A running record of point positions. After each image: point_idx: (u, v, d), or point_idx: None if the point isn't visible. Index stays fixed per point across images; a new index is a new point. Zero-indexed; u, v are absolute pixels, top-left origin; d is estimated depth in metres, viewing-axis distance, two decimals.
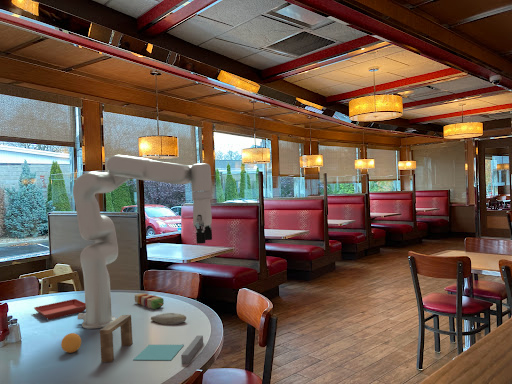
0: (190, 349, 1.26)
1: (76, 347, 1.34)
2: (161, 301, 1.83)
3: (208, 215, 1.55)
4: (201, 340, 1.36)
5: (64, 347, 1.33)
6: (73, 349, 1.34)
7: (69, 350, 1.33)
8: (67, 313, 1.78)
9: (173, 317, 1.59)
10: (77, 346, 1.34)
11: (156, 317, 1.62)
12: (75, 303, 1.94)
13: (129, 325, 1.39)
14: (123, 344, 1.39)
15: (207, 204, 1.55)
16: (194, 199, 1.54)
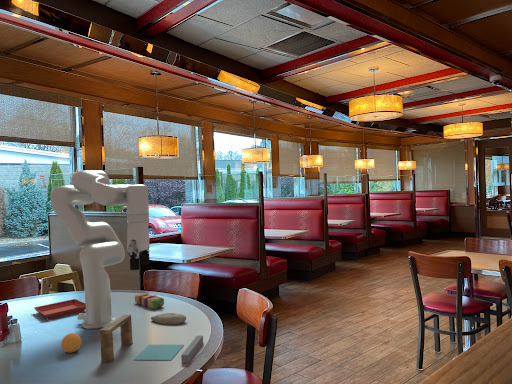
0: (190, 349, 1.26)
1: (76, 347, 1.34)
2: (161, 301, 1.83)
3: (144, 239, 1.47)
4: (201, 340, 1.36)
5: (64, 347, 1.33)
6: (73, 349, 1.34)
7: (69, 350, 1.33)
8: (67, 313, 1.78)
9: (173, 317, 1.59)
10: (77, 346, 1.34)
11: (156, 317, 1.62)
12: (75, 303, 1.94)
13: (129, 325, 1.39)
14: (123, 344, 1.39)
15: (143, 228, 1.46)
16: (129, 222, 1.46)
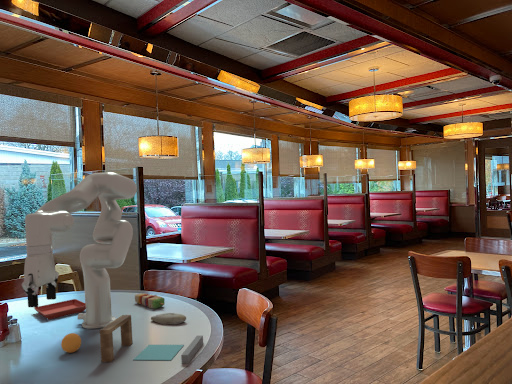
0: (190, 349, 1.26)
1: (76, 347, 1.34)
2: (162, 301, 1.83)
3: (44, 273, 1.35)
4: (201, 340, 1.36)
5: (64, 347, 1.33)
6: (73, 349, 1.34)
7: (69, 350, 1.33)
8: (67, 313, 1.78)
9: (173, 317, 1.59)
10: (77, 346, 1.34)
11: (156, 317, 1.62)
12: (75, 303, 1.94)
13: (129, 325, 1.39)
14: (123, 344, 1.39)
15: (43, 260, 1.35)
16: (27, 255, 1.34)
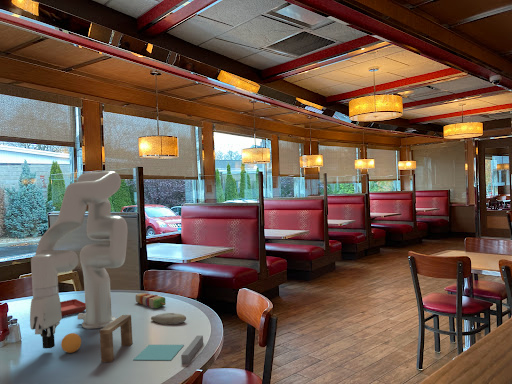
0: (190, 349, 1.26)
1: (76, 347, 1.34)
2: (163, 300, 1.84)
3: (50, 315, 1.35)
4: (201, 340, 1.36)
5: (64, 347, 1.33)
6: (73, 349, 1.34)
7: (69, 350, 1.33)
8: (67, 313, 1.78)
9: (173, 317, 1.59)
10: (77, 346, 1.34)
11: (156, 317, 1.62)
12: (75, 303, 1.94)
13: (129, 325, 1.39)
14: (123, 344, 1.39)
15: (48, 302, 1.35)
16: (33, 297, 1.34)
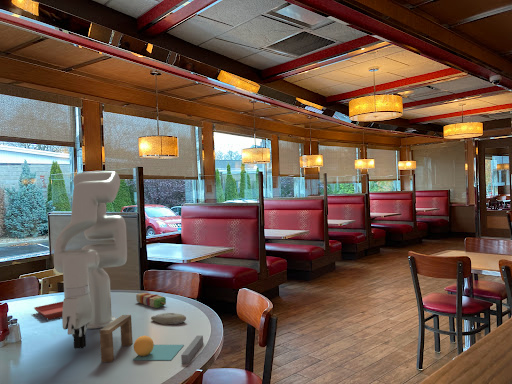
0: (190, 349, 1.26)
1: None
2: (163, 300, 1.84)
3: (82, 314, 1.34)
4: (201, 340, 1.36)
5: (137, 348, 1.27)
6: (134, 350, 1.28)
7: (134, 348, 1.28)
8: None
9: (173, 317, 1.59)
10: None
11: (156, 317, 1.62)
12: None
13: (129, 325, 1.39)
14: (123, 344, 1.39)
15: (80, 302, 1.33)
16: (65, 296, 1.32)
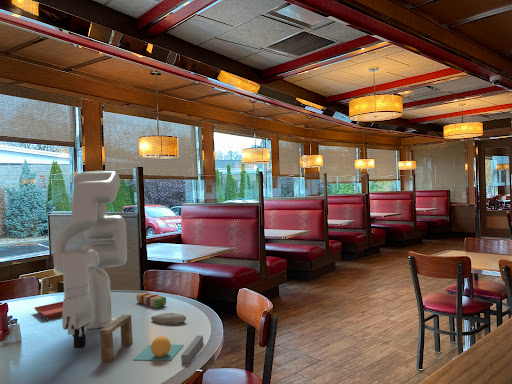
0: (190, 349, 1.26)
1: (156, 338, 1.27)
2: (164, 300, 1.84)
3: (82, 314, 1.34)
4: (201, 340, 1.36)
5: (157, 349, 1.25)
6: (157, 340, 1.27)
7: (158, 343, 1.26)
8: None
9: (173, 317, 1.59)
10: (156, 338, 1.28)
11: (156, 317, 1.62)
12: None
13: (129, 325, 1.39)
14: (123, 344, 1.39)
15: (80, 302, 1.33)
16: (65, 296, 1.32)
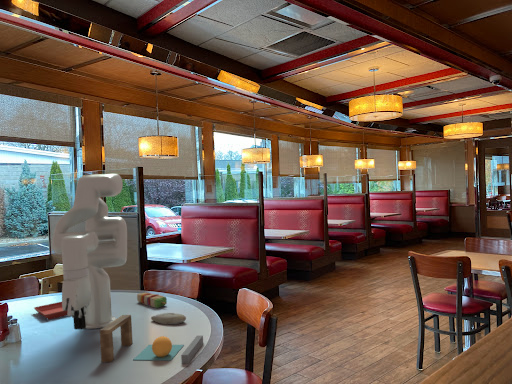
0: (190, 349, 1.26)
1: (159, 338, 1.27)
2: (164, 300, 1.85)
3: (82, 296, 1.34)
4: (201, 340, 1.36)
5: (158, 349, 1.25)
6: (159, 340, 1.26)
7: (160, 344, 1.26)
8: None
9: (172, 317, 1.59)
10: (158, 338, 1.27)
11: (156, 317, 1.62)
12: None
13: (129, 325, 1.39)
14: (123, 344, 1.39)
15: (80, 284, 1.33)
16: (64, 278, 1.33)
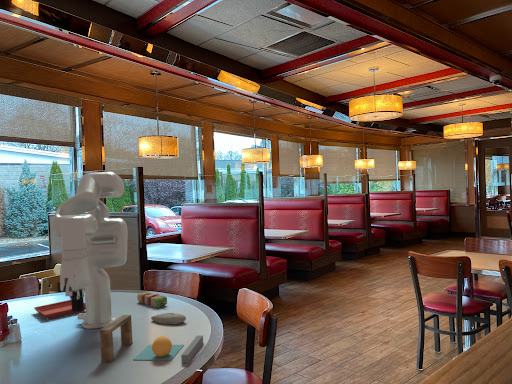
0: (190, 349, 1.26)
1: (159, 338, 1.27)
2: (165, 300, 1.85)
3: (80, 277, 1.33)
4: (201, 340, 1.36)
5: (158, 349, 1.25)
6: (159, 340, 1.26)
7: (160, 344, 1.26)
8: (67, 313, 1.78)
9: (172, 317, 1.59)
10: (158, 338, 1.27)
11: (156, 317, 1.62)
12: None
13: (129, 325, 1.39)
14: (123, 344, 1.39)
15: (78, 264, 1.33)
16: (63, 259, 1.32)
